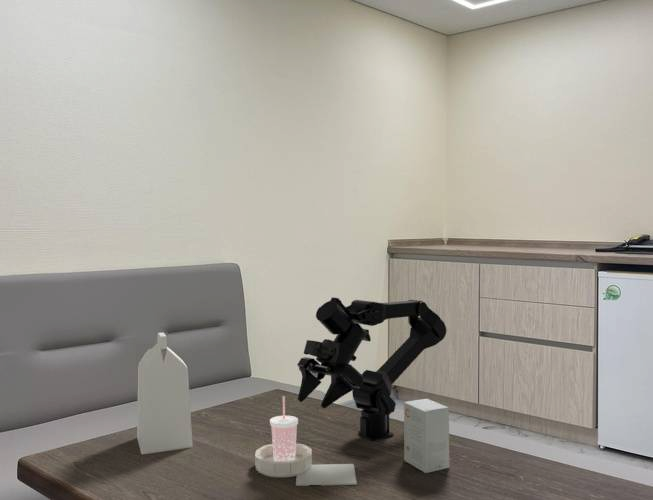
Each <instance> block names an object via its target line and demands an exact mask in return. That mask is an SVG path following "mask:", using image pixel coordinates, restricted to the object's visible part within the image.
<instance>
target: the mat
mask: <svg viewBox="0 0 653 500" xmlns="http://www.w3.org/2000/svg"><path fill="white" fill-rule="evenodd" d="M295 477H296V478H295V479H296V480H295V486H297V487H302V486H303V487H310V486H309V485H321V486H356V485H358V484H357V477H356V470H355V465H354V463H332V464H329V463H328V464H326V463H325V464H320V463H319V464H312V466H311V468H310V469H309V470H307V471H305V472H303V473H300V474H297V476H295Z"/></svg>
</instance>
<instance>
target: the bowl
mask: <svg viewBox="0 0 653 500" xmlns="http://www.w3.org/2000/svg"><path fill="white" fill-rule="evenodd" d="M312 450H313V449H312V448H311V447H310V446H307V445H306V444H302V443H297V442H296V454H295V460H292V461H274V458H273V443H270V444H265V445H263V446H262V447H259V448H257V449H256V450H255V455H254V466H255V471H256V472H257V471H258V472H257V473H258V474H260V473H261V474H260V475H262V474H263V475H262V476H265V477H269V478H277V479H278V478H279V479H280V478H282V479H283V478H291V477H297V474H300V473H303V472H305V471H307V470H309V469H310V468H311V466H312V465H313V451H312Z"/></svg>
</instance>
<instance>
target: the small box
mask: <svg viewBox="0 0 653 500" xmlns="http://www.w3.org/2000/svg"><path fill="white" fill-rule="evenodd" d="M403 423H404V424H403V427H404V428H403V429H404V431H403V437H404V439H403V440H404V441H403V443H404V445H403V447H404V448H403V449H404V452H403V454H404V462H406V463H407V464H409V465H411V466H413V467H414V468H416V469H418V470H420V471H421V472H422V473H424V474H428V473H433V472H437V471H442V470H445V469H449V468H450V410H449V407H448V406H445V405H444V404H440V403H439V402H437V401H433V400H432V399H429V398H423V399H416V400H415V399H414V400H407V401H404V402H403Z"/></svg>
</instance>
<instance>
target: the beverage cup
mask: <svg viewBox="0 0 653 500" xmlns="http://www.w3.org/2000/svg"><path fill="white" fill-rule="evenodd" d="M298 425H299V418H298V417H296V416H294V415H293V416H292V415H286V396H285V395H283V396H282V415H277V416H273V417H271V418H270V419H269V426H271V427H270V429H271V440H272V441H271V442H272V443H271V444H273V458H274V461H292V460H295V454H296V443H297V433H298V432H297V430H298Z"/></svg>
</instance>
